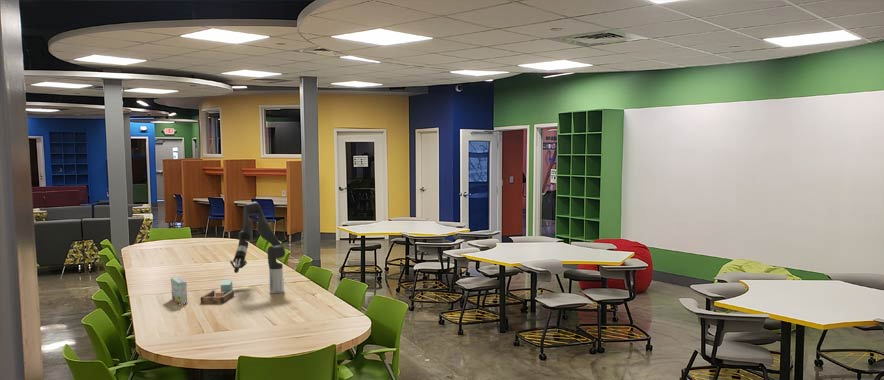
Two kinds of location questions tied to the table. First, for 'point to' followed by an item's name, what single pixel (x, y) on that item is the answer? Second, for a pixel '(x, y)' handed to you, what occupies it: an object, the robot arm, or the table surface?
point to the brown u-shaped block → (210, 297)
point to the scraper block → (226, 286)
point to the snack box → (179, 290)
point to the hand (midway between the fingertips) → (235, 272)
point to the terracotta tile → (220, 293)
